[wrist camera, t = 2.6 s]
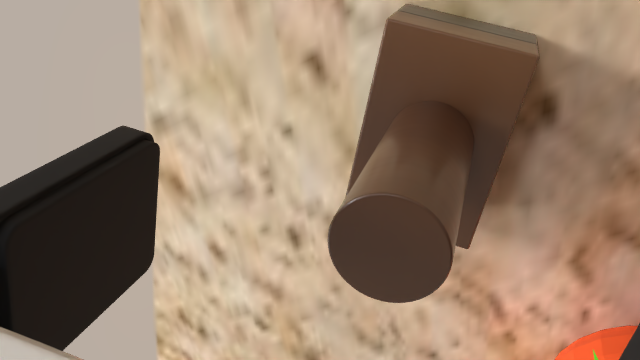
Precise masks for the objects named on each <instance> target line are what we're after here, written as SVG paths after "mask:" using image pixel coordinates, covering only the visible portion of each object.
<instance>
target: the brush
mask: <svg viewBox="0 0 640 360" xmlns="http://www.w3.org/2000/svg"><path fill="white" fill-rule="evenodd" d="M538 60H539V52H538V46H537V39H536V35H535V34H531V33H527V32H523V31H518V30H514V29H510V28H506V27H502V26H498V25H493V24H489V23H485V22H481V21H477V20H473V19H469V18H464V17H460V16H456V15H452V14H448V13H444V12H439V11H435V10H431V9H427V8H423V7H419V6H414V5H410V4H405V5H404V6H403V7H401V8H400V9H399V10H398V11H397V12H395V13H394V14H393V15H391V16H390V17H389V18H388V19H387V20H386V24H385V28H384V33H383V37H382V41H381V46H380V50H379V54H378V59H377V63H376V67H375V72H374V76H373V80H372V85H371V89H370V93H369V98H368V102H367V106H366V111H365V115H364V119H363V124H362V128H361V132H360V137H359V141H358V145H357V150H356V154H355V158H354V163H353V167H352V171H351V176H350V180H349V184H348V189H347V193H346V197H345V200H344V201H343V203H342V205H341V206H340V208H339V209H338V211H337V213H336V214H335V216H334V218H333V220H332V222H331V224H330V228H329V232H328V248H329V253H330V256H331V259H332V262H333V264H334V266H335V268H336V269H337V271H338V272H339V274H340V275H341V276H342V278H343V279H344V280H345V281H346V282H347V283H348V284H350V285H351V286H352V287H353V288H355V289H356V290H358V291H359V292H361V293H363V294H364V295H366V296H369V297H371V298H374V299H377V300H380V301H385V302H392V303H405V302H412V301H416V300H419V299H422V298H424V297H426V296H428V295H430V294H431V293H433V292H434V291H435V290H437V289H438V288H439V287H440V286H441V285H442V284H443V283H444V281H445V280H446V278H447V277H448V274H449V272H450V270H451V266H452V262H453V257H454V251H455V246H459V247H462V248H465V249H468V248H469V247H470V244H471V241H472V239H473V236H474V233H475V231H476V228H477V225H478V222H479V220H480V217H481V214H482V212H483V209H484V206H485V203H486V201H487V198H488V195H489V193H490V190H491V187H492V185H493V182H494V179H495V176H496V174H497V171H498V168H499V166H500V163H501V160H502V157H503V155H504V152H505V149H506V147H507V144H508V141H509V139H510V136H511V133H512V130H513V128H514V125H515V122H516V120H517V117H518V114H519V111H520V109H521V106H522V103H523V101H524V98H525V95H526V93H527V90H528V87H529V84H530V82H531V79H532V76H533V74H534V71H535V68H536V65H537V63H538Z"/></svg>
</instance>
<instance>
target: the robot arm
mask: <svg viewBox="0 0 640 360" xmlns="http://www.w3.org/2000/svg"><path fill="white" fill-rule="evenodd" d="M159 158H160V148H159V145H158V144H157V143H154V140H153V137H152V135H151V134H149V133H146V132H143V131H139V130H136V129H133V128H130V127H126V126H120V127H118V128H116V129H114V130H112V131H110V132H108V133H106V134H104V135H102V136H100V137H98V138H96V139H94V140H92V141H91V142H88V143H86V144H84V145H83V146H81V147H79V148H77V149H75V150H73V151H71V152H69V153H67V154H65V155H63V156H61V157H59V158H57V159H55V160H53V161H51V162H49V163H47V164H45V165H43V166H41V167H39V168H37V169H35V170H33V171H32V172H30V173H28V174H26V175H24V176H22V177H20V178H18V179H16V180H14V181H12V182H10V183H8V184H6V185H4V186H2V187H0V360H83V359H80V358H78V357H76V356H73V355H71V354H68V353H65V352H63V350H64V349H65V348H66V347H67V346H68V345H69V344H70V343H71V342H72V341H73V340H74V339H75V338H77V337H78V336H79V335H80V334H81V333H82V332H83V331H84V330H85V329H86V328H87V327H88V326H89V325H90V324H91V323H92V322H93V321H94V320H96V319H97V318H98V317H99V316H100V315H101V314H102V313H103V312H104V311H105V310H106V309H107V308H108V307H109V306H110V305H111V304H112V303H113V302H115V301H116V300H117V299H118V298H119V297H120V296H121V295H122V294H123V293H124V292H125V291H126V290H127V289H128V288H129V287H130V286H131V285H132V284H134V283H135V282H136V281H137V280H138V279H139V278H140V277H141V276H142V275H143V274H144V273H145V272H146V271H147V270H148V268H149V267H150V265H151V263H152V260H153V257H154V246H155V229H156V211H157V193H158V176H159ZM619 360H640V324H639V325H638V327H637V329H636V331H635V332H634V334H633V336H632V337H631V339H630V341H629V343H628V344H627V346H626V348H625V350H624V351H623V353H622V355H621V357H620V358H619Z"/></svg>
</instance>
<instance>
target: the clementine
mask: <svg viewBox="0 0 640 360" xmlns="http://www.w3.org/2000/svg"><path fill="white" fill-rule="evenodd" d="M637 327H638V326H623V327H616V328H610V329H604V330H601V331H598V332H595V333H593V334H590V335H588V336H585V337H582V338H580V339H578V340H577V341H575V342H574V343H572V344H571V345H569V346H568V347H567V348H565V349H564V350H562V351H561V352H560V353H559V354H558V356H557V357H556V358H555V360H619V358H620V357H621V355H622V353H623V351H624V350H625V348H626V346H627V344H628V343H629V341H630V339H631V337H632V336H633V334H634V332H635V331H636V329H637Z"/></svg>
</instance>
